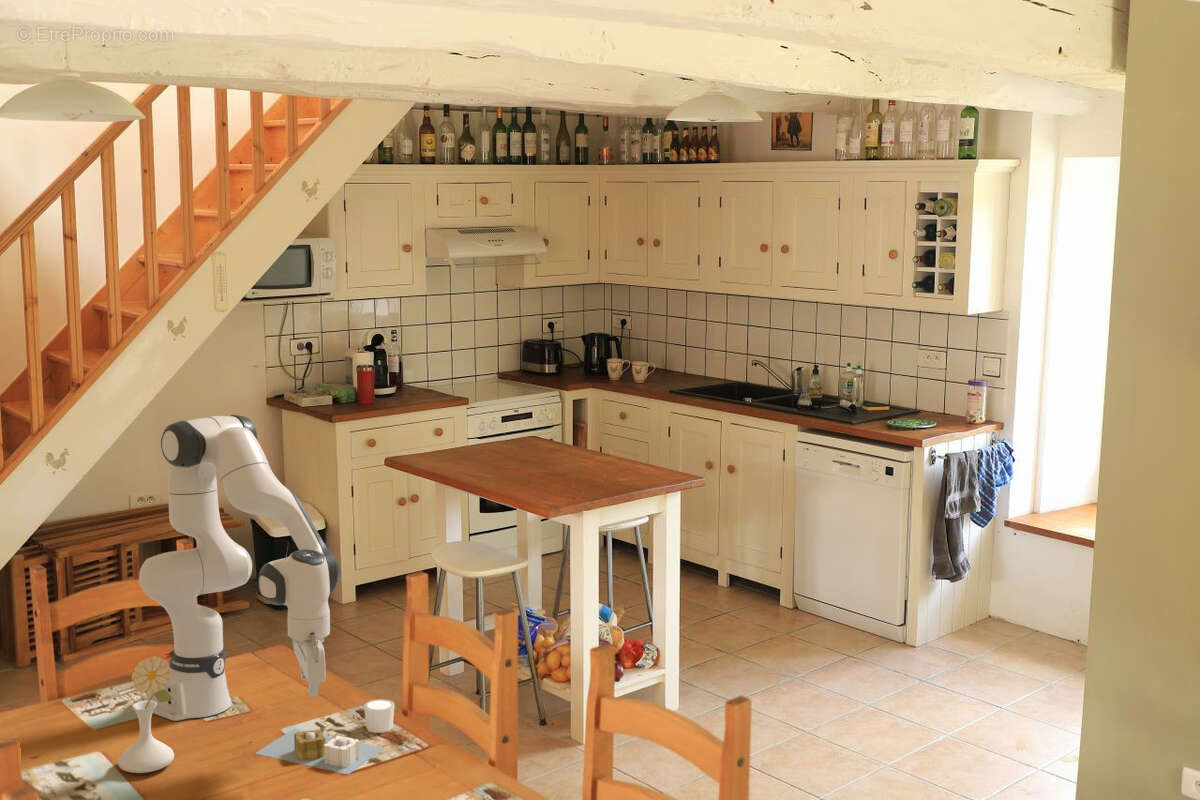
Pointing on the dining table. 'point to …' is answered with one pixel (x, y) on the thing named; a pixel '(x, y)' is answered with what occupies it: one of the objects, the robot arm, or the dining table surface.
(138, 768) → the flower in vase
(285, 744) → the board
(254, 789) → the dining table surface
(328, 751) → the white gear
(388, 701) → the white cup
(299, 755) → the gear
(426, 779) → the dining table surface
